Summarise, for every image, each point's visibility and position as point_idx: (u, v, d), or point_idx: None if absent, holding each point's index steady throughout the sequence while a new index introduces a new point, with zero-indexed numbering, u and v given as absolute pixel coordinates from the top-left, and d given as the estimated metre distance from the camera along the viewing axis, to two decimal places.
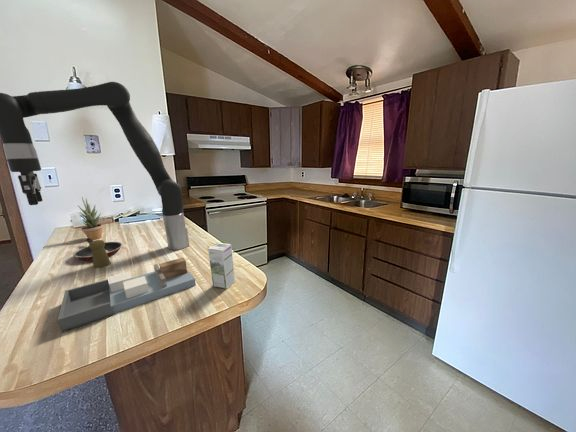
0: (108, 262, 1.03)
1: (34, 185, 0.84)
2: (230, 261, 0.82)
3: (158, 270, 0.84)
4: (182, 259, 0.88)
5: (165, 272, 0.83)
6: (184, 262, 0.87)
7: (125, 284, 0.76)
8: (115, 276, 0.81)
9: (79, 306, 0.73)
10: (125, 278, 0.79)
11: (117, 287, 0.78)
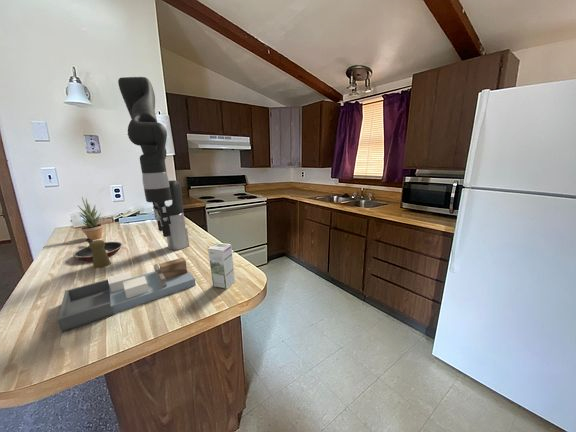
0: (108, 262, 1.03)
1: None
2: (230, 261, 0.82)
3: (158, 270, 0.84)
4: (182, 259, 0.88)
5: (165, 272, 0.83)
6: (184, 262, 0.87)
7: (125, 284, 0.76)
8: (115, 276, 0.81)
9: (79, 306, 0.73)
10: (125, 278, 0.79)
11: (117, 287, 0.78)
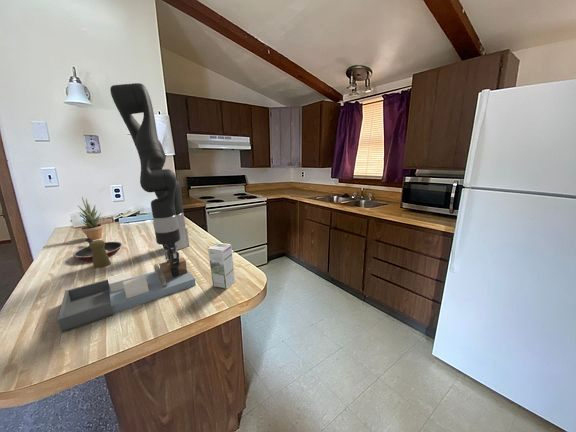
0: (108, 262, 1.03)
1: None
2: (230, 261, 0.82)
3: (158, 270, 0.84)
4: (182, 259, 0.88)
5: (165, 272, 0.83)
6: (184, 262, 0.87)
7: (125, 284, 0.76)
8: (115, 276, 0.81)
9: (79, 306, 0.73)
10: (125, 278, 0.79)
11: (117, 287, 0.78)
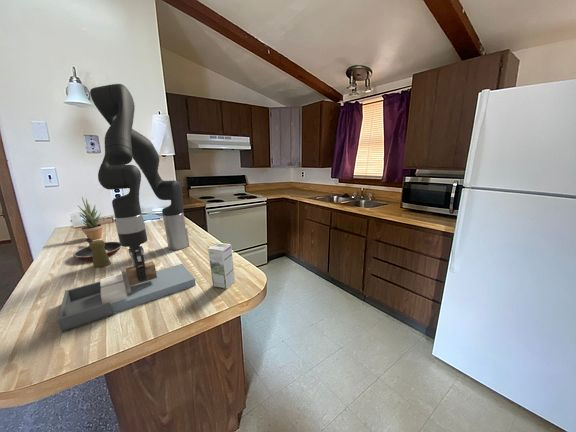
0: (108, 262, 1.03)
1: (144, 260, 0.78)
2: (230, 261, 0.82)
3: (124, 275, 0.78)
4: (151, 263, 0.81)
5: (132, 277, 0.77)
6: (153, 266, 0.80)
7: (102, 291, 0.72)
8: (106, 278, 0.80)
9: (79, 306, 0.73)
10: (117, 280, 0.78)
11: None
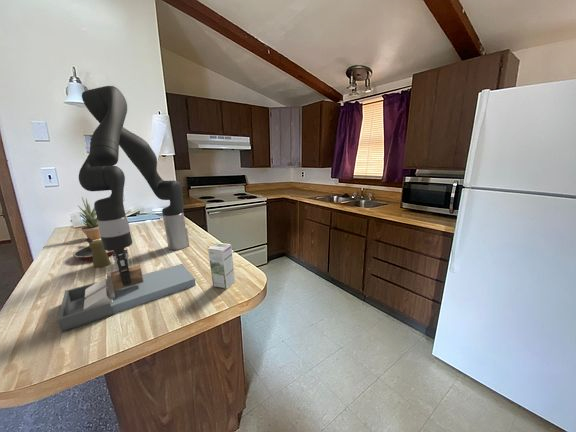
0: (108, 262, 1.03)
1: (128, 264, 0.75)
2: (230, 261, 0.82)
3: (109, 279, 0.76)
4: (137, 267, 0.79)
5: (116, 282, 0.75)
6: (139, 270, 0.78)
7: (85, 302, 0.70)
8: (91, 287, 0.78)
9: (79, 306, 0.73)
10: (100, 287, 0.76)
11: None
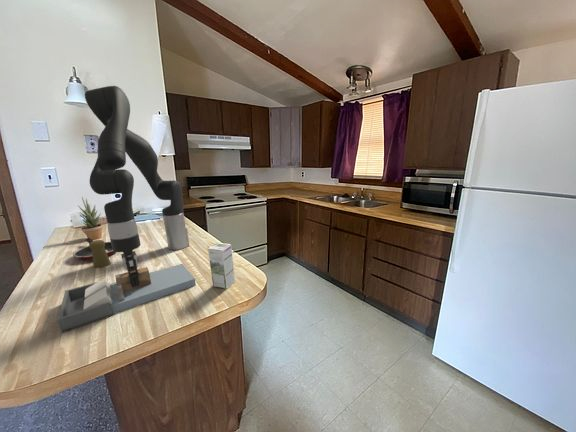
0: (108, 262, 1.03)
1: (137, 265, 0.76)
2: (230, 261, 0.82)
3: (118, 281, 0.77)
4: (145, 269, 0.81)
5: (125, 284, 0.77)
6: (147, 272, 0.80)
7: (85, 302, 0.70)
8: (91, 287, 0.77)
9: (79, 306, 0.73)
10: (100, 287, 0.76)
11: None
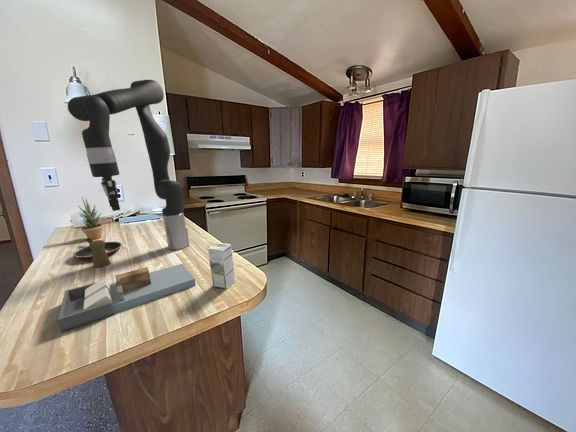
0: (108, 262, 1.03)
1: (116, 190, 0.81)
2: (230, 261, 0.82)
3: (118, 281, 0.77)
4: (145, 269, 0.81)
5: (125, 284, 0.77)
6: (147, 272, 0.80)
7: (85, 302, 0.70)
8: (91, 287, 0.77)
9: (79, 306, 0.73)
10: (100, 287, 0.76)
11: None
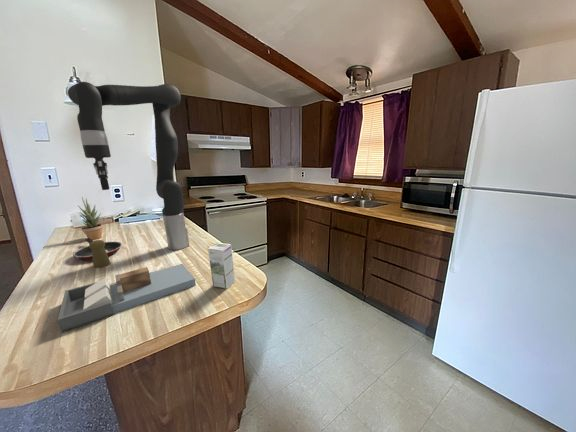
0: (108, 262, 1.03)
1: (106, 171, 0.87)
2: (230, 261, 0.82)
3: (118, 281, 0.77)
4: (145, 269, 0.81)
5: (125, 284, 0.77)
6: (147, 272, 0.80)
7: (85, 302, 0.70)
8: (91, 287, 0.77)
9: (79, 306, 0.73)
10: (100, 287, 0.76)
11: None
